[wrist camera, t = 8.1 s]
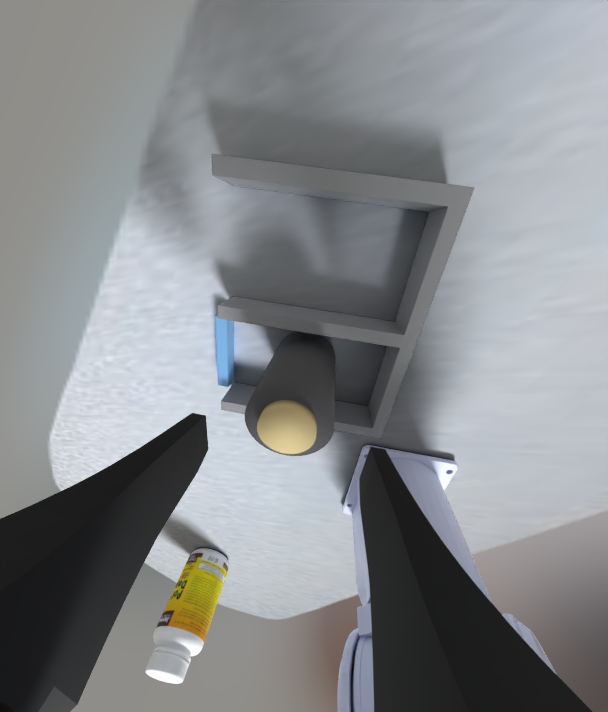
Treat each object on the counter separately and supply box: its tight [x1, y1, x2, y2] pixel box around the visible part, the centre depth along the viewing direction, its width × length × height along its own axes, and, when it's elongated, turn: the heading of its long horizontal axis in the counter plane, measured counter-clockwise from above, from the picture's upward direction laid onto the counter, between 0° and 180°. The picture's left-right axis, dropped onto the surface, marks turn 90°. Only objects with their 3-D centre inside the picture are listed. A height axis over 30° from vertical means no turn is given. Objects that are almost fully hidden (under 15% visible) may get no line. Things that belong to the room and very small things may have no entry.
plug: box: [245, 332, 335, 456], centre depth 15 cm, size 4×4×8 cm
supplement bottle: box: [146, 548, 229, 684], centre depth 29 cm, size 6×6×10 cm
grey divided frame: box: [212, 154, 474, 439], centre depth 15 cm, size 15×13×2 cm
